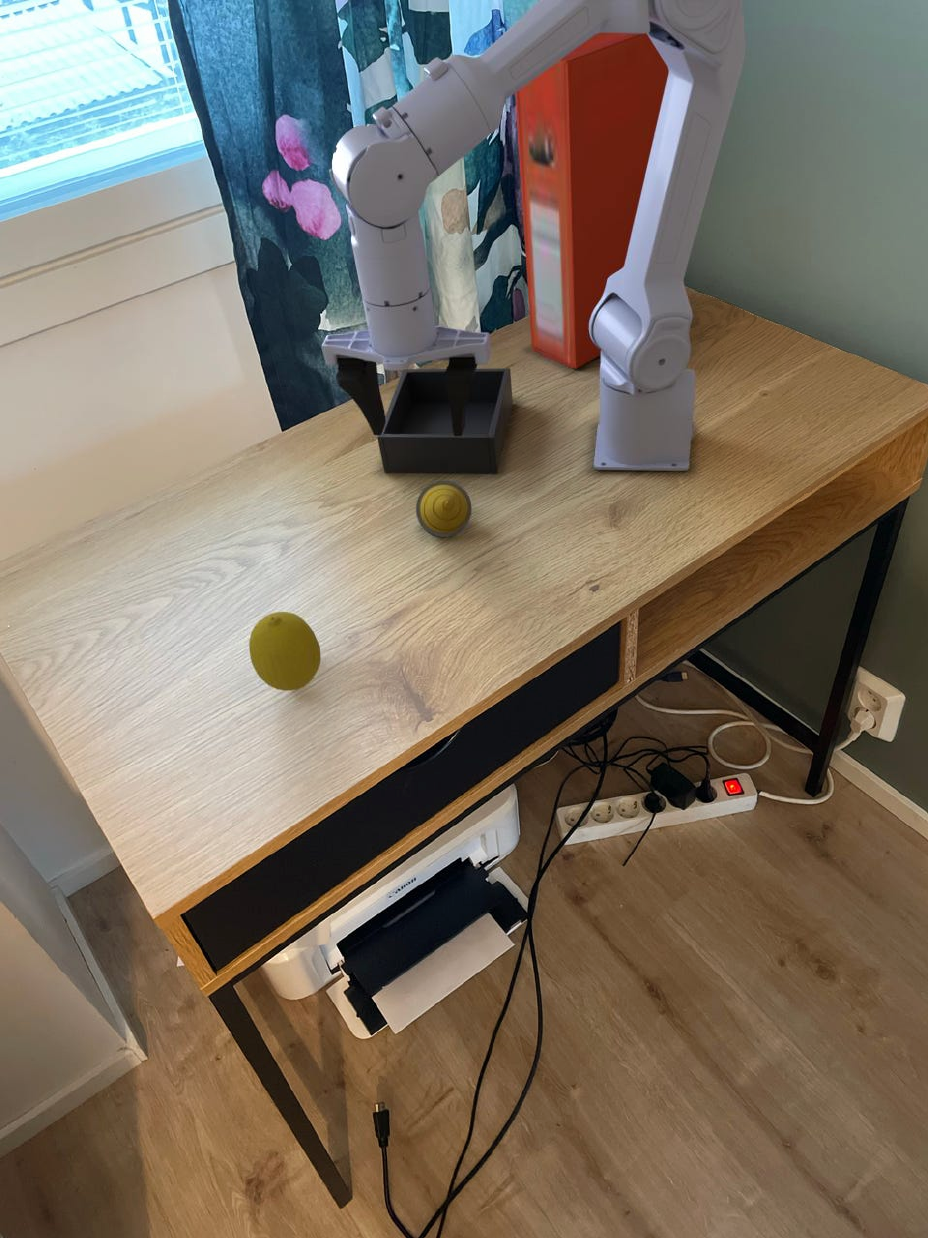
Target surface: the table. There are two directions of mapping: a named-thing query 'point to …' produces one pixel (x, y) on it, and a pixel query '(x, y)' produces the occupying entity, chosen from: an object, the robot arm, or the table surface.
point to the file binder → (583, 180)
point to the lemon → (284, 651)
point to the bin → (446, 424)
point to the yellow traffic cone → (443, 509)
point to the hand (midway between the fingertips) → (419, 429)
